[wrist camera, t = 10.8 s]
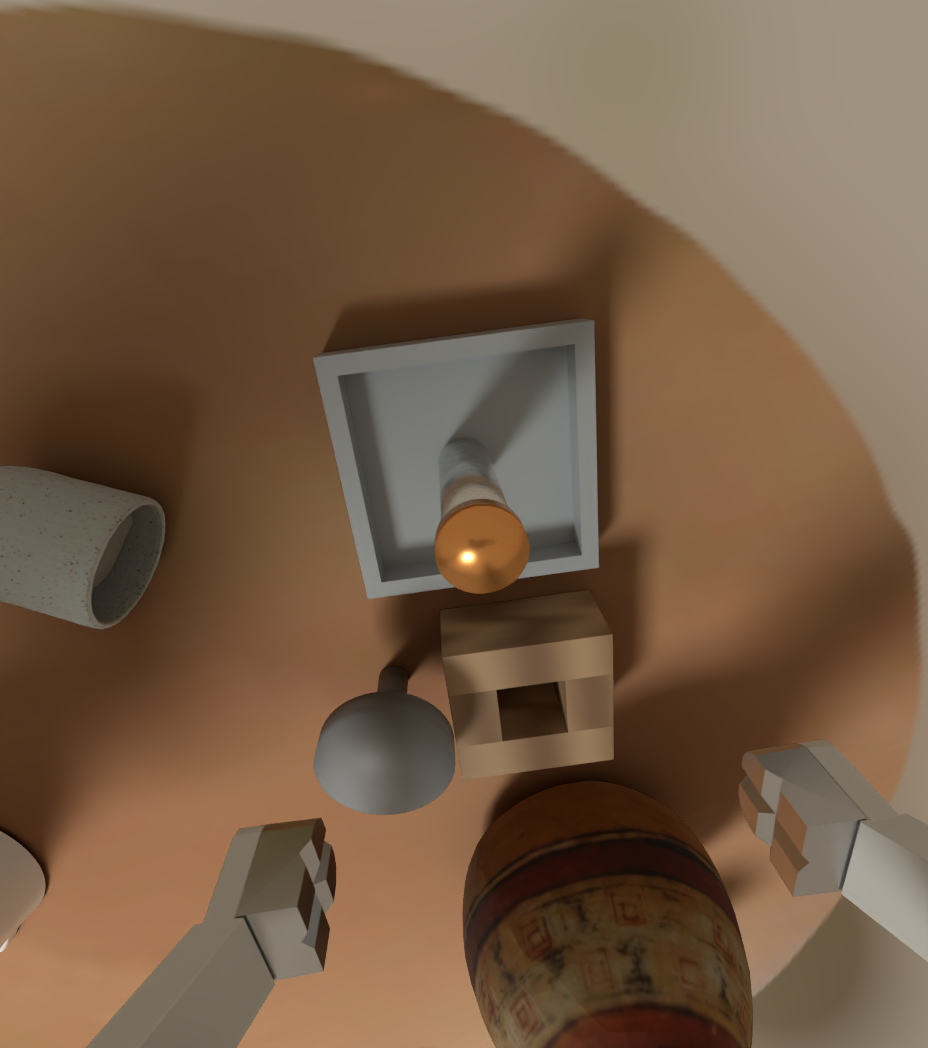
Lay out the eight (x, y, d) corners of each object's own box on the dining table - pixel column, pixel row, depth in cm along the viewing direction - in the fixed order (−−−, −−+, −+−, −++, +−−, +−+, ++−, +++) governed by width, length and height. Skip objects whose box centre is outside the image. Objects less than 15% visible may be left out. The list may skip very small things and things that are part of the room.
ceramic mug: (23, 441, 29) (-100, 489, 22) (172, 479, 30) (98, 535, 24) (26, 593, 33) (-78, 672, 26) (158, 621, 34) (92, 703, 28)
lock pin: (437, 495, 31) (441, 599, 21) (428, 436, 30) (428, 515, 19) (497, 487, 31) (532, 586, 21) (492, 428, 30) (526, 502, 19)
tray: (372, 579, 34) (367, 599, 32) (321, 352, 28) (312, 357, 26) (588, 549, 34) (598, 567, 32) (581, 318, 28) (594, 320, 26)
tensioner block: (351, 738, 39) (335, 834, 32) (320, 626, 35) (293, 708, 28) (592, 704, 39) (627, 793, 32) (589, 589, 35) (628, 663, 28)
